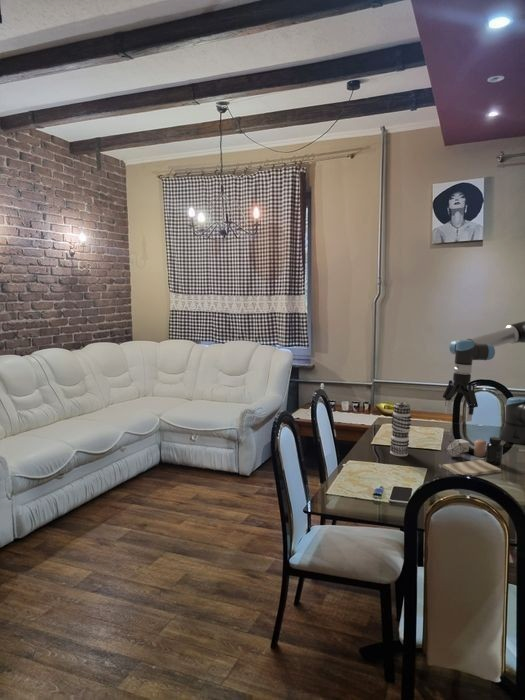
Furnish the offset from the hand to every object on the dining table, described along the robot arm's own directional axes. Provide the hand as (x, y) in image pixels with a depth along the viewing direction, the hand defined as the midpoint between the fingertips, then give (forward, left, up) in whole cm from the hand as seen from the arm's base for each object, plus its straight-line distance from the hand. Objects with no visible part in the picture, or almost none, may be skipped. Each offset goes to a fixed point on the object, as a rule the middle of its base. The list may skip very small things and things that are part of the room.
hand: (458, 417), depth 232 cm
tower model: (+23, -12, -20) cm, 33 cm away
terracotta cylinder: (-14, +1, -20) cm, 24 cm away
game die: (0, 0, -20) cm, 20 cm away
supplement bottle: (-12, +12, -20) cm, 26 cm away
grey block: (-10, -7, -20) cm, 23 cm away
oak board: (+4, +15, -20) cm, 25 cm away
